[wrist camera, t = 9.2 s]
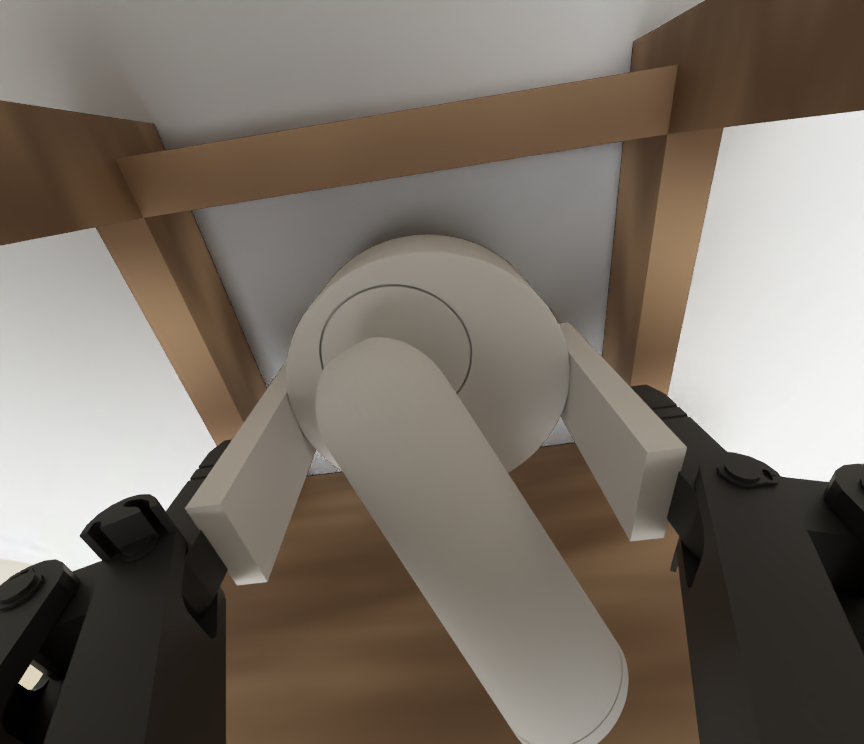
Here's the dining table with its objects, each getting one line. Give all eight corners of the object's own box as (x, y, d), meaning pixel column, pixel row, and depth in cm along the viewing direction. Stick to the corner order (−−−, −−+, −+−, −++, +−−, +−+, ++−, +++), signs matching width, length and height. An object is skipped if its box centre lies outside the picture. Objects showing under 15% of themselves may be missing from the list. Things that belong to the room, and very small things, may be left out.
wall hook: (428, 813, 9) (-45, 646, 5) (425, 496, 17) (255, 335, 13) (830, 716, 6) (606, 203, 2) (599, 403, 15) (461, 171, 11)
